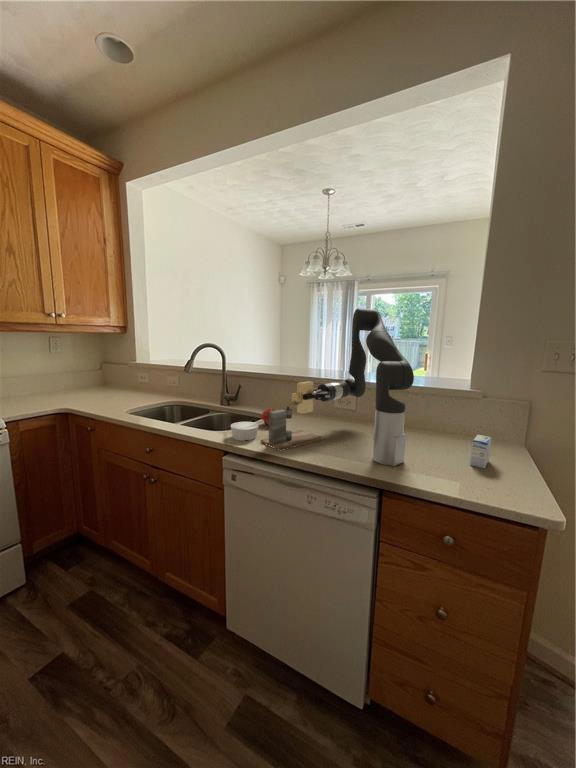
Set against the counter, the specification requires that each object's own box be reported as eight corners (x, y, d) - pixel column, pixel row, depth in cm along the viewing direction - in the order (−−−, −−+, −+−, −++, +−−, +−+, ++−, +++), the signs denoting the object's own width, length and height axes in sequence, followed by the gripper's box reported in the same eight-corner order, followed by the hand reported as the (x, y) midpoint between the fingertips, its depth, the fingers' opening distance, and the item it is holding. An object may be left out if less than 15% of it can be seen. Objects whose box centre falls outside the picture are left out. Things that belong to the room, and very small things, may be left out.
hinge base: (321, 439, 128) (322, 404, 126) (280, 451, 114) (280, 412, 112) (301, 432, 137) (301, 399, 135) (260, 442, 123) (260, 406, 121)
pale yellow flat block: (313, 411, 129) (313, 382, 127) (295, 415, 123) (295, 384, 121) (307, 409, 132) (308, 381, 130) (289, 413, 125) (290, 383, 123)
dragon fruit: (263, 425, 152) (281, 434, 144) (253, 418, 146) (272, 427, 138) (272, 410, 154) (290, 418, 146) (262, 402, 148) (281, 410, 140)
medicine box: (474, 458, 110) (476, 434, 109) (489, 461, 107) (492, 436, 106) (469, 465, 104) (472, 439, 103) (485, 468, 101) (488, 442, 100)
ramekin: (253, 443, 122) (253, 430, 121) (226, 441, 124) (226, 428, 124) (261, 434, 133) (261, 422, 132) (236, 432, 135) (236, 420, 134)
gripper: (318, 381, 142) (289, 385, 130) (343, 385, 131) (313, 389, 120) (318, 397, 143) (289, 402, 132) (342, 402, 132) (313, 409, 121)
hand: (301, 396), depth 126 cm, fingers closed on pale yellow flat block, 3 cm apart
